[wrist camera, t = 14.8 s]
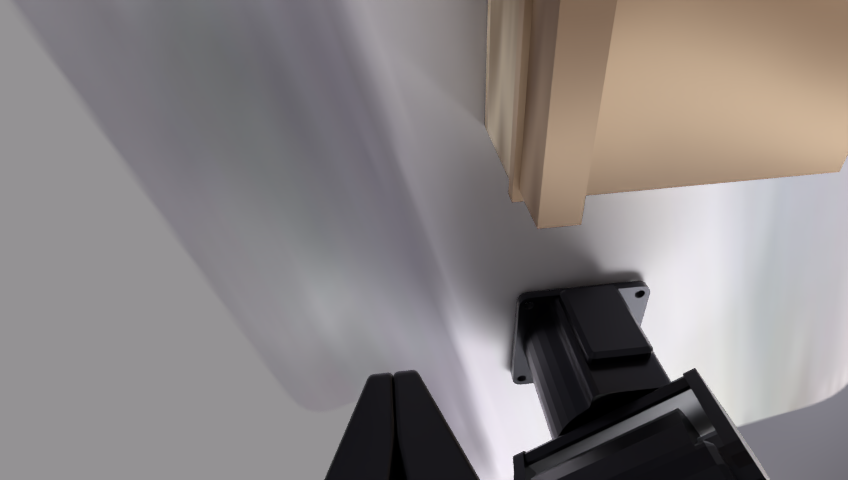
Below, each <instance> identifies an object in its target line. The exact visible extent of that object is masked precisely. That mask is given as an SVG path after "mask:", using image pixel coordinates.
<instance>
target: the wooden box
mask: <svg viewBox="0 0 848 480" xmlns="http://www.w3.org/2000/svg"><path fill="white" fill-rule="evenodd" d="M518 14H519V0H488V14H487V57H486V100H485V128H486V130H487V132H488V134H489V136H490V139H491V141H492V143H493V145H494V147H495V150H496V152H497V154H498V156H499V158H500V161H501V163H502V165H503V167H504V169H505V172H506V174H507V176H508V178H509V173H510V155H511V138H512V120H513V102H514V85H515V67H516V50H517V32H518Z"/></svg>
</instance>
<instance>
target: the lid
mask: <svg viewBox="0 0 848 480" xmlns="http://www.w3.org/2000/svg"><path fill="white" fill-rule="evenodd" d="M847 155H848V0H519V14H518V32H517V50H516V67H515V85H514V102H513V120H512V138H511V155H510V173H509V190H508V194H509V197H510V199H511V201H512V202H522V201H524V202H525V204H526V206H527V208H528V210H529V212H530V214H531V217H532V219H533V221H534V223H535V225H536V227H537V229H542V228H552V227H563V226H573V225H581V222H582V216H583V210H584V204H585V197H586V195H597V194H608V193H618V192H629V191H640V190H650V189H661V188H672V187H682V186H693V185H704V184H715V183H725V182H736V181H747V180H757V179H768V178H779V177H790V176H800V175H811V174H822V173H832V172H840V170H841V168H842V165H843V163H844V161H845V159H846V157H847Z"/></svg>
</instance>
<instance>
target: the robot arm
mask: <svg viewBox="0 0 848 480" xmlns="http://www.w3.org/2000/svg"><path fill="white" fill-rule="evenodd" d="M638 291H639V292H638ZM649 295H650V289H649V288H648V286H647V285H646V283H645V282H643V281H634V282H624V283H615V284H605V285H595V286H585V287H575V288H566V289H556V290H546V291H536V292H527V293H524V294H522V295H520V296H519V297H518V299H517V307H516V319H515V332H514V344H513V357H512V369H511V375H512V379H513V382H514V383H516V384H529V383H534V385H535V388H536V391H537V394H538V397H539V400H540V403H541V406H542V409H543V412H544V416H545V419H546V422H547V425H548V428H549V431H550V434H551V437H552V440H551V441H548V442H546V443H544V444H542V445H540V446H538V447H536V448H534V449H532V450H530V451H528V452H525V451H523V452H521V453H519V454H517V455H515V456H513V464H514V480H770V478H769V477H768V475H767V474H766V472H765V470H764V469H763V467H762V465H761V464H760V462H759V461H758V459H757V458H756V456H755V455H754V453H753V452H752V450H751V449H750V447H749V446H748V444H747V443H746V441H745V440H744V438H743V437H742V435H741V434H740V432H739V431H738V429H737V428H736V426H735V425H734V423H733V422H732V420H731V419H730V417H729V416H728V414H727V413H726V411H725V410H724V408H723V407H722V406H721V404H720V403H719V401H718V400H717V399H716V397H715V396H714V394H713V393H712V391H711V390H710V389H709V387H708V386H707V384H706V383H705V381H704V380H703V379H702V377H701V376H700V374H699V373H698V372H697V370H696V369H695V368H694V369H692V370H690V371H688V372H686V373H683V375H684V376H683V377H681V378H679V379H677V380H674V381H672V382H671V381H670V379H669V377H668V376H667V374H666V372H665V371H664V369H663V367H662V365H661V364H660V362H659V360H658V359H657V357H656V355H655V354H654V352H653V348H652V346H651V344H650V342H649V341H648V339H647V337H646V336H645V334H644V332H643V330H642V329H641V327H640V326H641V323H642V319H643V316H644V312H645V309H646V305H647V302H648V298H649ZM527 302H530V303H528V304H525V303H527ZM324 480H480V479H479V477H478V476H477V474H476V472H475V470H474V469H473V467H472V465H471V463H470V462H469V460H468V458H467V456H466V455H465V453H464V451H463V450H462V448H461V446H460V444H459V443H458V441H457V439H456V437H455V436H454V434H453V432H452V430H451V429H450V427H449V425H448V423H447V422H446V420H445V418H444V417H443V415H442V413H441V411H440V410H439V408H438V406H437V404H436V403H435V401H434V399H433V397H432V396H431V394H430V392H429V391H428V389H427V387H426V385H425V384H424V382H423V380H422V378H421V377H420V375H419V373H418V372H417V371H415V370H408V371H399V372H396V373H395V374H394V377H393V375H392V374H391V373H381V374H373V375H370V376H369V378H368V379H367V381H366V384H365V386H364V388H363V391H362V393H361V395H360V398H359V400H358V402H357V405H356V407H355V409H354V412H353V414H352V416H351V419H350V421H349V423H348V426H347V428H346V430H345V433H344V435H343V437H342V440H341V442H340V444H339V447H338V449H337V452H336V454H335V456H334V459H333V461H332V463H331V466H330V468H329V470H328V472H327V475H326V477H325V479H324Z"/></svg>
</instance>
